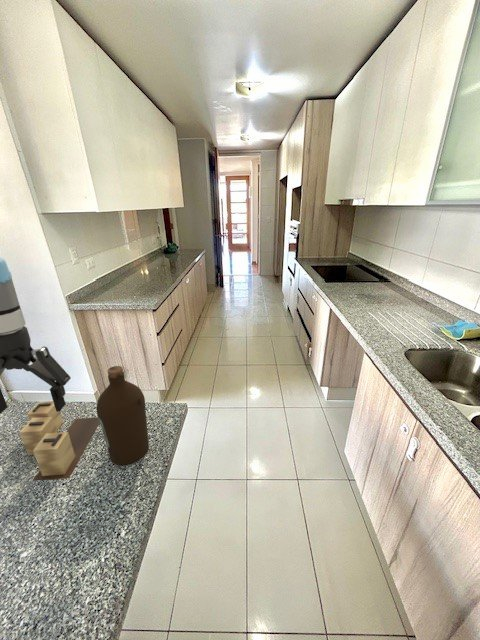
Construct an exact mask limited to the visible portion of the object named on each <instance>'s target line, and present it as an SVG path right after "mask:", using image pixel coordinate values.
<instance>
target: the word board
mask: <svg viewBox="0 0 480 640" xmlns="http://www.w3.org/2000/svg"><path fill="white" fill-rule="evenodd" d="M99 426H100V422H99V418H98V416H97V417H83V418H75V419H74V420H73V422H72V423H71V424H70V426H69V427H68V429H67V430H66V432H68V433H69V437H70V440H71V444H72V447H73V451H74V454H75V458H74V459H73V461H72V463H71V465H70V466H69V468H68V470H67V471H66V473H65V474H63V475H49V476H42V474H41V471H40V470H39V471H38V472H37V474H36V475H35V477H34V478H33V480H32V481H35V482H37V481H48V480H49V481H50V480H62V479H70V478H71V476H72V475H73V472H74V471H75V469H76V468H77V465H78V463H79V462H80V460H81V458H82V457H83V455H84V453H85V451H86V450H87V448H88V446H89V444H90V442H91V440H92V438H93V436H94V435H95V434H96V431H97V430H98V428H99Z"/></svg>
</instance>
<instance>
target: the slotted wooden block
mask: <svg viewBox="0 0 480 640" xmlns="http://www.w3.org/2000/svg"><path fill="white" fill-rule="evenodd" d="M26 416H27V418H28V422H29V421H30V420H31V419H32V418H39V417H53V419H54V423H55V426H56V429H57V431H58V430H59V428H60V427H61V426H62V425H63V423H64V419H63V416H62V413H61V410H60V411H58V412H56V409H55V405H54V402H53V400H52V401H38V402H37V403H36V404H35V406H33V407H32V409H30V410H29V412H28V413H26Z"/></svg>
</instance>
